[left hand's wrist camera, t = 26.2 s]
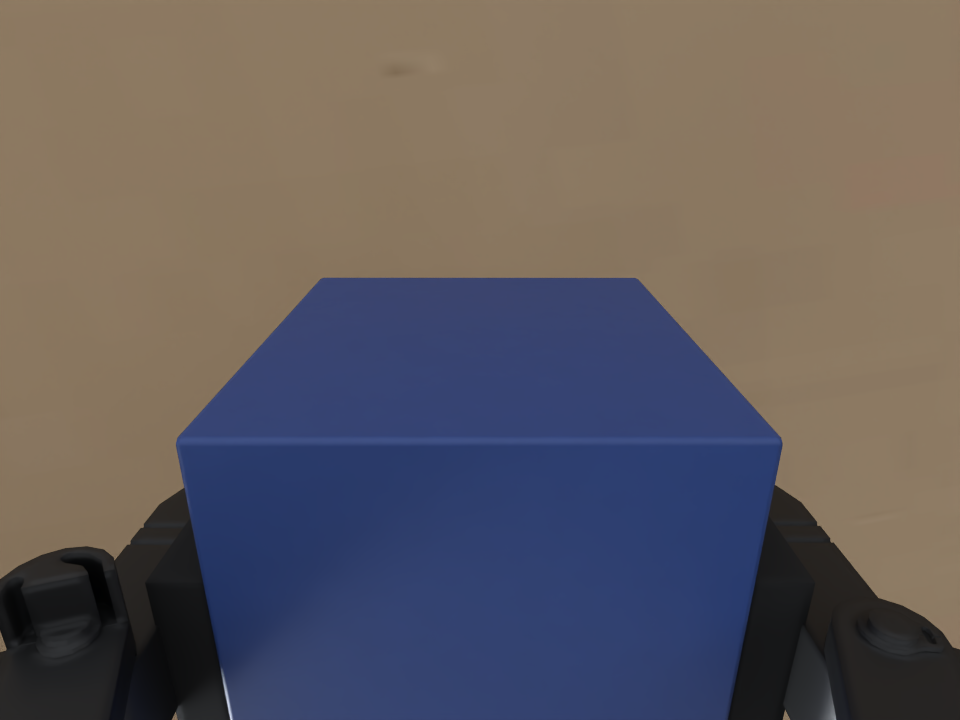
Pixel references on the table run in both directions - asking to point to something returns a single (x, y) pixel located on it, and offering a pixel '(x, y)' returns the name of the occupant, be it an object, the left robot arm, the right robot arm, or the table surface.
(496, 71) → the table surface
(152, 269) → the table surface
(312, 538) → the block
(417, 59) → the table surface
